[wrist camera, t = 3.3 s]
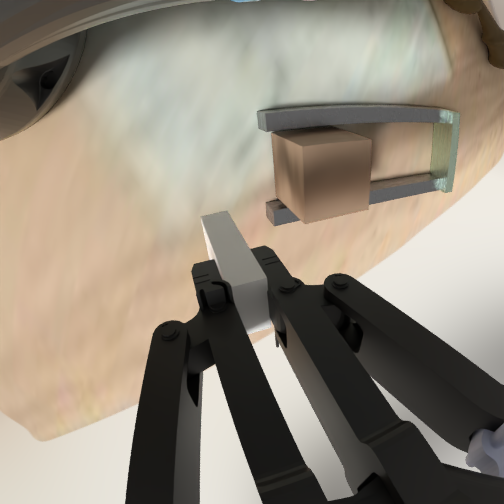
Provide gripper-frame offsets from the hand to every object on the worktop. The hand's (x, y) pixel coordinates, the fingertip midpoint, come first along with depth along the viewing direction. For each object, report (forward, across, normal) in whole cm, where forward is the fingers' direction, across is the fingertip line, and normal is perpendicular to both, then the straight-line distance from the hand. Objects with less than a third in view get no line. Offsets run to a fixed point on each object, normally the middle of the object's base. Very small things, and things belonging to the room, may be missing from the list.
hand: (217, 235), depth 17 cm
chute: (+10, +17, 0) cm, 20 cm away
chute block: (+10, +10, 0) cm, 14 cm away
